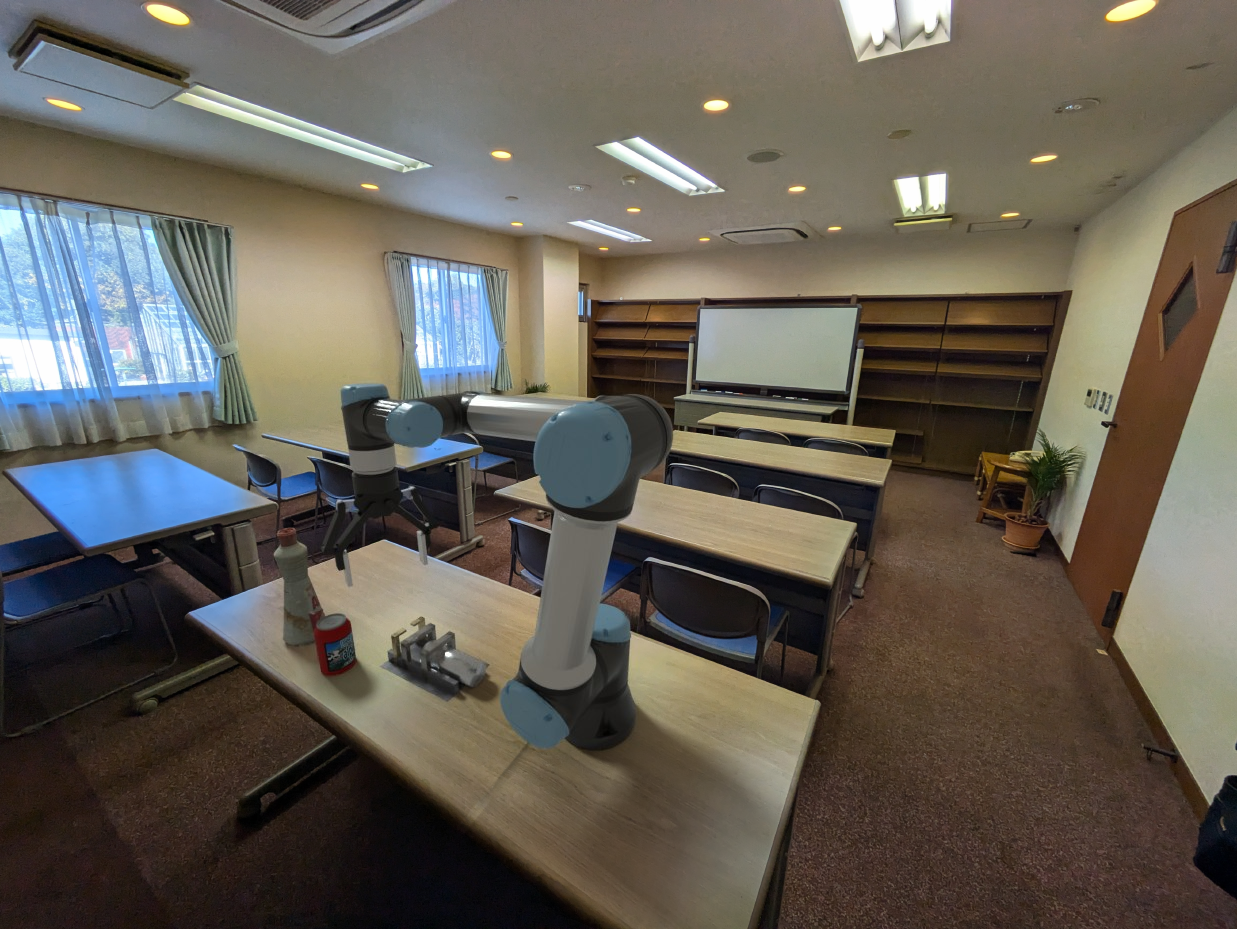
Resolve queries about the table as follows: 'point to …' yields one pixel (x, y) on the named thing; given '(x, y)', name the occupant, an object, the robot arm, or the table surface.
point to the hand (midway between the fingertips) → (388, 572)
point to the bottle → (297, 590)
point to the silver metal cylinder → (457, 665)
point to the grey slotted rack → (422, 660)
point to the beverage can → (334, 644)
